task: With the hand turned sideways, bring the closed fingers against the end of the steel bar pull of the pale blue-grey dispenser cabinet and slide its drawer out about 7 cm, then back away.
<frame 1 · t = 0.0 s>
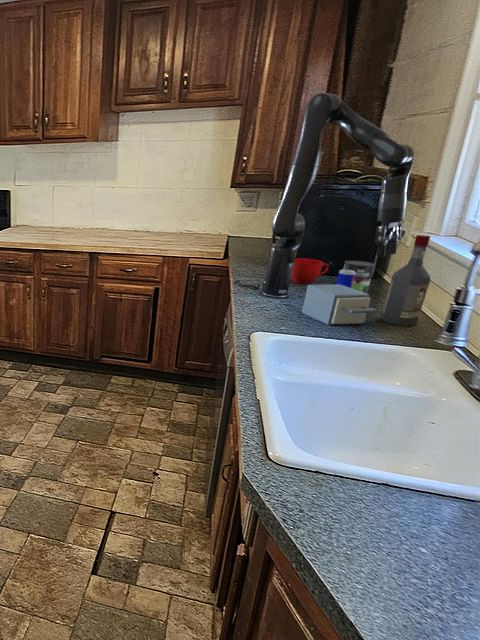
hand: (386, 255, 184), 22 cm above the worktop, tool pointing down, fingers open, 8 cm apart
drawer: (343, 307, 184), point 5 cm above the worktop, slide at 0.5 cm
ceramic cup: (306, 283, 241), on the worktop
liquor: (397, 322, 186), on the worktop
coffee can: (350, 297, 218), on the worktop
beverage can: (337, 310, 200), on the worktop
cabinet: (330, 318, 190), on the worktop
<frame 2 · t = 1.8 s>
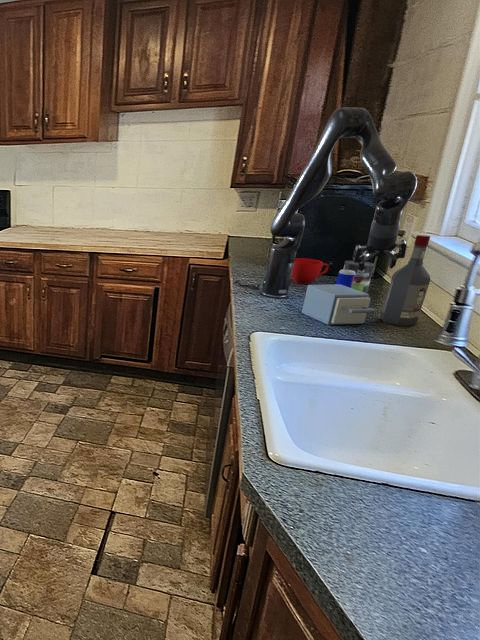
hand: (375, 268, 182), 18 cm above the worktop, tool tilted 30°, fingers open, 8 cm apart
nothing on the worktop moved.
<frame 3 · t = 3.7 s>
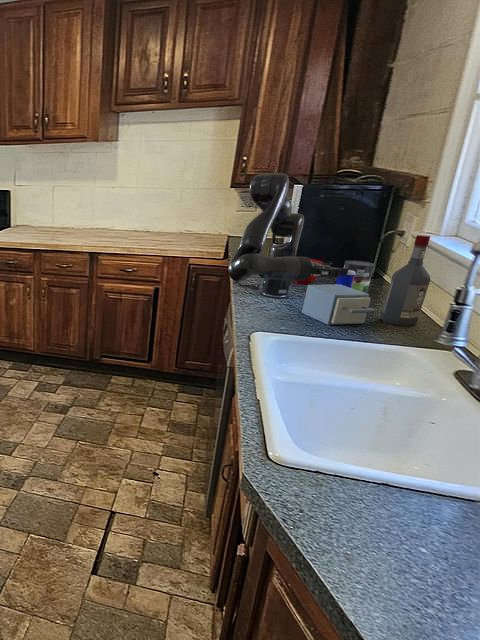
hand: (337, 269, 171), 20 cm above the worktop, tool horizontal, fingers open, 8 cm apart
nothing on the worktop moved.
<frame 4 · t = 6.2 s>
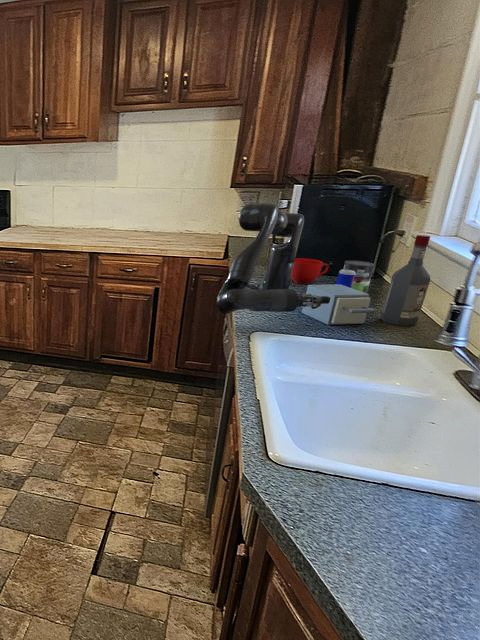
hand: (328, 299, 175), 10 cm above the worktop, tool horizontal, fingers closed
nothing on the worktop moved.
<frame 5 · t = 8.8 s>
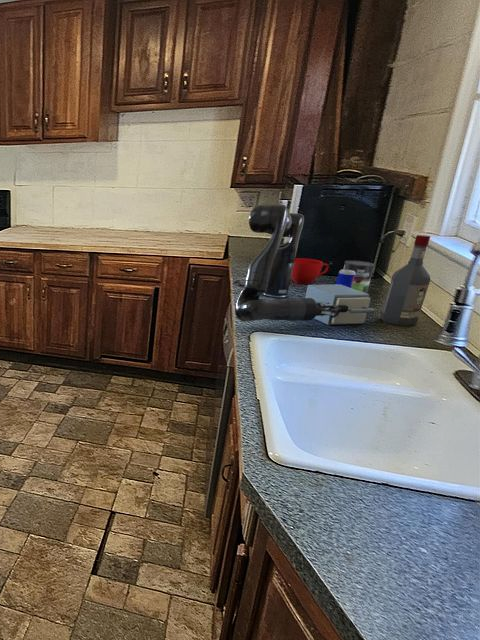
hand: (346, 308, 177), 7 cm above the worktop, tool horizontal, fingers closed
drawer: (343, 307, 184), point 5 cm above the worktop, slide at 0.5 cm, touching gripper
everything else where it was.
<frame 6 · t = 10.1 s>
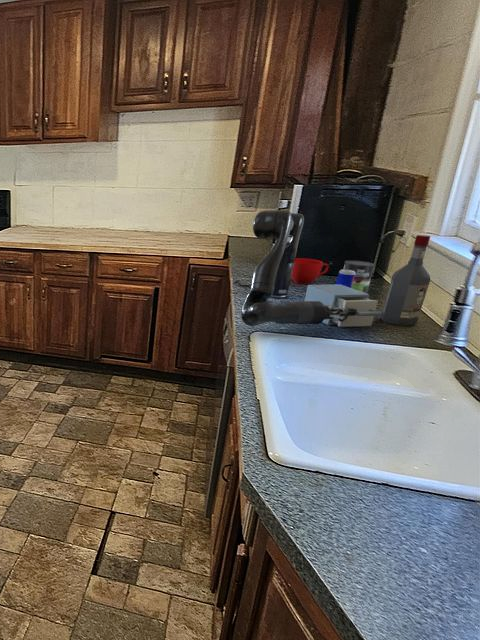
hand: (354, 311, 173), 7 cm above the worktop, tool horizontal, fingers closed
drawer: (349, 310, 181), point 5 cm above the worktop, slide at 3.8 cm, touching gripper
everything else where it was.
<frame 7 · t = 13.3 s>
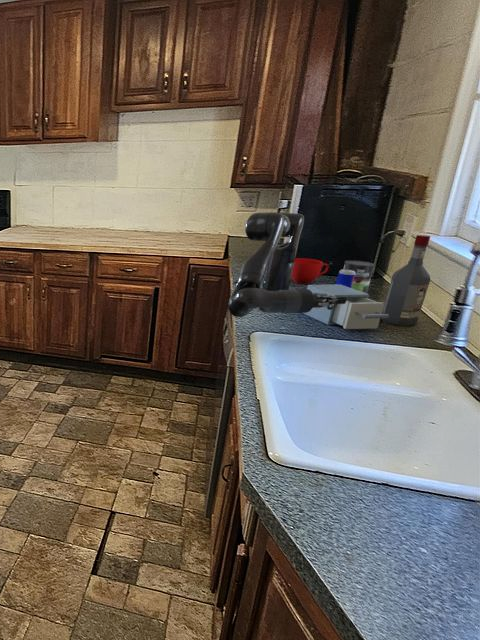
hand: (344, 299, 168), 12 cm above the worktop, tool horizontal, fingers closed
drawer: (355, 312, 178), point 5 cm above the worktop, slide at 6.5 cm
everything else where it was.
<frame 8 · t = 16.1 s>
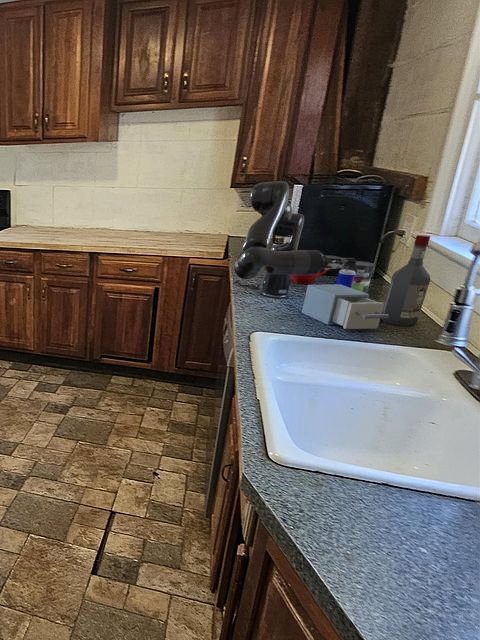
hand: (354, 261, 164), 24 cm above the worktop, tool horizontal, fingers closed
nothing on the worktop moved.
at the end: drawer slide at 6.5 cm; liquor moved 0.2 cm from its start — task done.
